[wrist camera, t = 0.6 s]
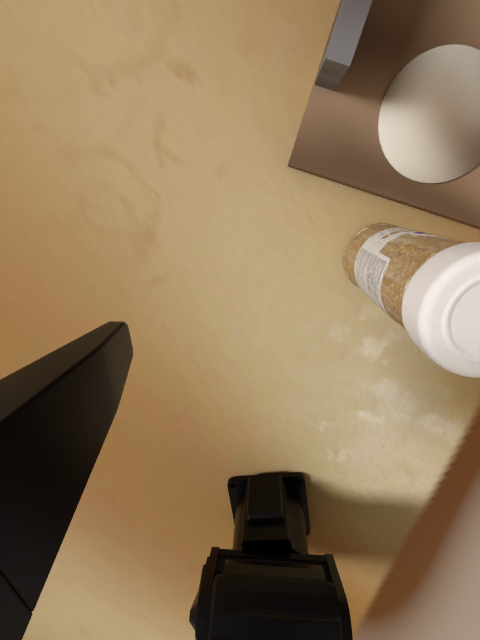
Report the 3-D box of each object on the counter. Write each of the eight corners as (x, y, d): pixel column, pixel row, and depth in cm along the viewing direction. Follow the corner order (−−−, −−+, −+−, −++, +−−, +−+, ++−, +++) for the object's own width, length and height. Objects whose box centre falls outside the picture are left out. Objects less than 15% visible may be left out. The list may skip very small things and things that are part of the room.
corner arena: (506, 237, 23) (568, 246, 19) (287, 166, 23) (293, 157, 18) (634, 0, 19) (755, -65, 15) (370, -93, 19) (406, -192, 14)
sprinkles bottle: (414, 223, 24) (593, 250, 11) (403, 291, 25) (548, 386, 12) (343, 221, 24) (435, 245, 11) (336, 289, 25) (410, 379, 12)
